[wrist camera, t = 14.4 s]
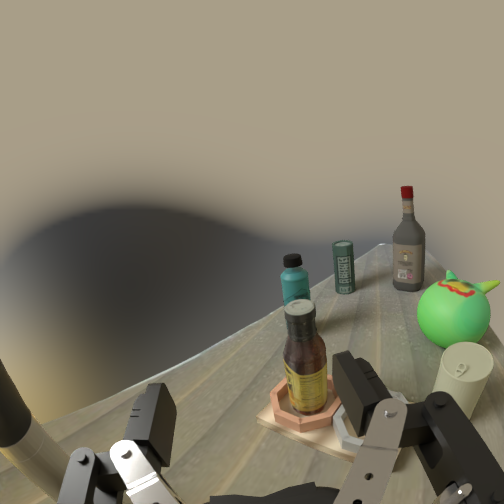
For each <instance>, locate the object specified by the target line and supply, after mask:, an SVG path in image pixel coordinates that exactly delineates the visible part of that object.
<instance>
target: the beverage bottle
mask: <svg viewBox="0 0 504 504" xmlns="http://www.w3.org/2000/svg"><path fill="white" fill-rule="evenodd" d="M283 260H284V267H287V268H288V269H286V270H285V271H284V272H283V273H282V274H281V282H282V289H283V297H284V306H286V305H287V304H288V303H290V302H292V301H294V300H298V299H307V300H310V295H311V294H310V290H309V281H308V272H307V271H306V270H305V269H303V268H301V267H298V266H300V265H302V260H301V255H299V254H289V255H286V256H284V258H283ZM310 301H311V300H310ZM284 308H285V307H284ZM286 321H287V320H286ZM286 327H287V328H288V325H287V326H286Z"/></svg>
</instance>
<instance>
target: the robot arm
mask: <svg viewBox="0 0 504 504" xmlns="http://www.w3.org/2000/svg"><path fill="white" fill-rule="evenodd" d="M332 378H333V384H334V387H335V390H336V392H337V394H338V396H339V398H340V400H341V403H342V405H343V407H344V409H345V411H346V413H347V415H348V417H349V420H350V422H351V424H352V426H353V428H354V430H355V432H356V435H357V437H358V438H359V437H362V436H364V435H365V438H364V441H363V443H362V445H361V446H360V448H359V450H358V453H357V455H356V457H355V460H354V462H353V464H352V466H351V469H350V471H349V473H348V475H347V477H346V479H345V481H344V483H343V485H342V487H341V489H340V490H339V489H336V488H331V487H316V486H315V482H310V483H306V484H302V485H297V486H292V487H288V488H285V489H283V490H280V491H278V492H275V493H273V494H270V495H267V496H264V497H253V496H243V495H222V496H210V502H207V503H204V504H380V503H381V500H382V498H383V495H384V493H385V490H386V487H387V485H388V482H389V479H390V476H391V473H392V470H393V467H394V464H395V461H396V457H397V454H398V448H403V447H409V446H413V447H414V449H415V451H416V453H417V455H418V457H419V459H420V461H421V463H422V465H423V467H424V470H425V472H426V474H427V476H428V478H429V480H430V482H431V484H432V486H433V488H434V491H435V493H436V495H437V498H436V499H435V500H434V502H433V503H432V504H504V472H503V470H502V469H501V467H500V466H499V464H498V462H497V461H496V459H495V458H494V456H493V455H492V453H491V451H490V450H489V448H488V447H487V445H486V444H485V442H484V441H483V439H482V438H481V436H480V435H479V433H478V432H477V431H476V429H475V428H474V426H473V425H472V423H471V422H470V420H469V419H468V418H467V416H466V415H465V413H464V412H463V411H462V409H461V408H460V407H459V405H458V404H457V403H456V401H455V400H454V398H453V397H452V396H451V395H450V394H449V393H447V392H443V391H436V392H433V393H431V394H430V395H428V396H427V398H426V400H425V402H419V403H412V404H405V403H404V402H403V401H401V400H399V399H395V398H393V397H392V396H391V394H390V393H389V391H388V390H387V388H386V387H385V385H384V384H383V382H382V381H381V379H380V378H379V377H378V375H377V373H376V372H375V371H374V369H373V368H372V366H371V365H370V363H369V362H367V361H366V360H364V359H362V358H357V359H354V358H353V356H352V355H351V353H350V352H349V351H344V352H341V353H337V354H334V355H333V366H332ZM176 415H177V411H176V406H175V403H174V401H173V399H172V397H171V395H170V393H169V391H168V389H167V387H166V385H165V383H152V384H148V386H147V389H146V393H145V394H140V396H139V397H138V398H137V399H136V400H135V402H134V405H133V408H132V411H131V414H130V418H129V421H128V424H127V427H126V431H125V434H124V438H123V440H122V441H120V442H117V443H116V444H115V445H114V446H113V447H112V448H111V451H108V452H102V453H96V454H95V453H94V452H93V451H92V450H91V449H89V448H86V447H82V448H79V449H77V450H75V451H74V452H73V453H72V455H71V457H69V456H68V455H67V454H66V453H65V452H64V451H63V450H62V449H61V447H60V446H59V445H58V444H57V443H56V442H55V441H54V440H53V439H52V437H51V436H50V435H49V434H48V433H47V431H46V430H45V429H44V428H43V427H42V425H41V424H40V423H39V422H38V421H37V419H36V418H35V417H34V415H33V414H32V413H31V411H30V410H29V409H28V407H27V406H26V404H25V403H24V401H23V399H22V398H21V396H20V394H19V392H18V390H17V388H16V386H15V385H14V383H13V381H12V380H11V378H10V376H9V375H8V373H7V371H6V369H5V367H4V365H3V364H2V362H1V359H0V452H1V453H2V454H3V455H4V456H5V457H6V458H7V459H8V460H9V461H10V462H11V463H12V464H13V465H14V466H15V467H16V468H17V469H18V470H19V471H20V472H22V473H23V474H24V475H25V476H26V477H27V478H28V479H29V480H30V481H32V482H33V483H34V484H35V485H36V486H37V487H39V488H40V489H41V490H42V491H43V492H45V493H46V494H47V495H48V496H50V497H51V498H52V499H54V500H55V501H56V502H57V504H122V500H123V492H124V490H126V491H127V494H128V495H129V497H130V499H131V500H132V502H133V504H186V503H185V502H184V501H183V500H182V499H181V498H180V497H179V495H178V494H177V493H176V492H175V491H174V489H173V488H172V487H171V486H170V484H169V483H168V482H167V481H166V479H165V478H164V477H163V475H162V474H161V473H160V472H161V467H169V466H170V458H171V450H172V443H173V436H174V429H175V422H176Z"/></svg>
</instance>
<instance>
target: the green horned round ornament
mask: <svg viewBox="0 0 504 504" xmlns="http://www.w3.org/2000/svg"><path fill="white" fill-rule="evenodd" d="M499 284H500V281H498V280H493V281H487V282H482V283H476V284H471V283H469V282H467V281H464V280H459V279H458V278H457V277H456V276H455V274H454V273H453V272H452V271H451V270H447V272H446V279H445V280H441V281H438V282H436V283H434V284H432V285H431V286H430V287H429V288H428V289H427V290H426V291H425V292H424V293H423V295H422V297H421V299H420V301H419V304H418V308H417V318H418V323H419V326H420V328H421V330H422V332H423V333H424V334H425V336H426V337H427V338H428V339H429V340H431V341H432V342H433V343H435V344H436V345H438V346H441V347H443V348H448V347H449V346H451V345H453V344H455V343H459V342H473V343H477V342H478V341H479V340H480V339H481V338H482V336H483V335H484V334H485V332H486V330H487V328H488V325H489V322H490V305H489V302H488V300H487V298H486V296H485V294H486V293H487V292H489V291H490V290H492V289H493V288H495V287H496V286H498V285H499Z"/></svg>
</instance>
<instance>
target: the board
mask: <svg viewBox="0 0 504 504" xmlns="http://www.w3.org/2000/svg"><path fill="white" fill-rule="evenodd" d="M335 400H336V399H335V397H334V394H333V392H332V390H330V389H328V396H327V403H326V405H325V407H324V408H323V409H322V410H321V411H320V412H318V413H316V414H313V415H317V414H321V413H324V412H327V411H328V409H329V408H330V406H331V405H332V404H333V402H334V401H335ZM408 403H409V404H412V403H413V402H408ZM279 407H280V410H282V411H285V412H287V413H289V414H292V415H294V416H297V417H299V418H305V417H309V416H313V415H303V414H300V413H297V412H296V411H295V410H294V409H293V407H292V404H291V403H290V397H289V392H288V393H287V394H286V395H285V396H284V397H283V398H282V399H281V400H280V401H279ZM256 418H257V421H258V423H259V424H261V425H263V426H265V427H267V428H269V429H271V430H273V431H275V432H278V433H280V434H282V435H284V436H286V437H288V438H291V439H293V440H295V441H297V442H300V443H302V444H304V445H307V446H309V447H312V448H314V449H317V450H319V451H322V452H324V453H327V454H330V455H332V456H335V457H338V458H341V459H344V460H346V461H349V462H352V463H353V462H354V460H355V457H356V455H357V453H353V452H350V451H347V450H344V449H342V448H341V446H340V443H339V441H338V438H337V436H336V433H335V430H334V428H333V423H332V425H330V426H326V427H323V428H319V429H315V430H311V431H307V432H303V433H299V432H297V431H295V430H292V429H290V428H288V427H286V426H283V425H281V424H279V423H277V422H275V418H274V413H273V408H272V402H270V403H269V404H268V405H267V406H266V407H265V408H264V409H263V410H262V411H261V412H260V413H259V414H258V415H257V416H256ZM343 423H344V425H345V427H346V430H347V432H348V434H349V436H352V437H355V438H358V437H357V435H356V432H355V430H354V428H353V426H352V424H351V422H350V420H349V417H348V415H347V417H346V418H345V420H344V421H343ZM364 438H365V435H364V436H362V437H359V439H362V440H364ZM400 451H401V448H398V454H397V457H398V455H399V453H400ZM397 457H396V459H397Z"/></svg>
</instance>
